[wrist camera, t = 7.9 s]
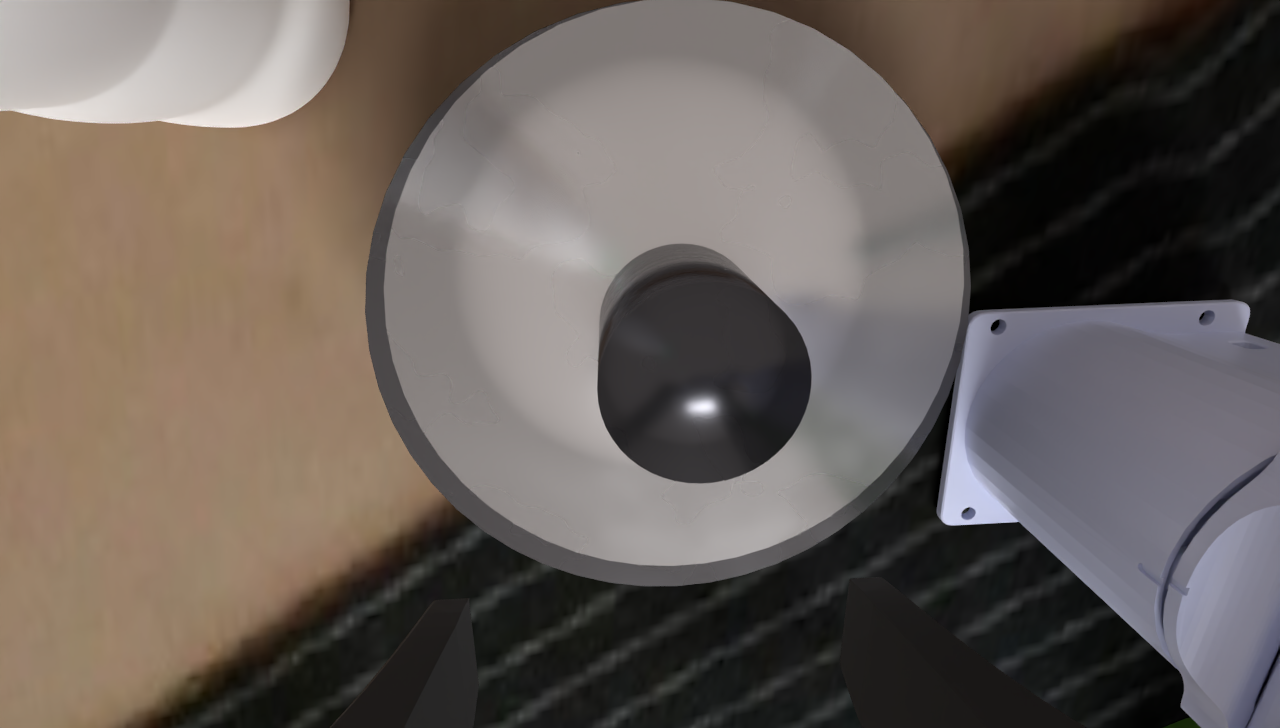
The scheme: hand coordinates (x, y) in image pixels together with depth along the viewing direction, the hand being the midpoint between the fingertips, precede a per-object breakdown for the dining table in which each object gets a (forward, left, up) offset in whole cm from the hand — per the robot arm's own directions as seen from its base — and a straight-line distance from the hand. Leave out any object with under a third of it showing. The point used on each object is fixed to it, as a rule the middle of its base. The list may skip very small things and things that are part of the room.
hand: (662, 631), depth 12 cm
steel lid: (-1, -5, -5) cm, 7 cm away
